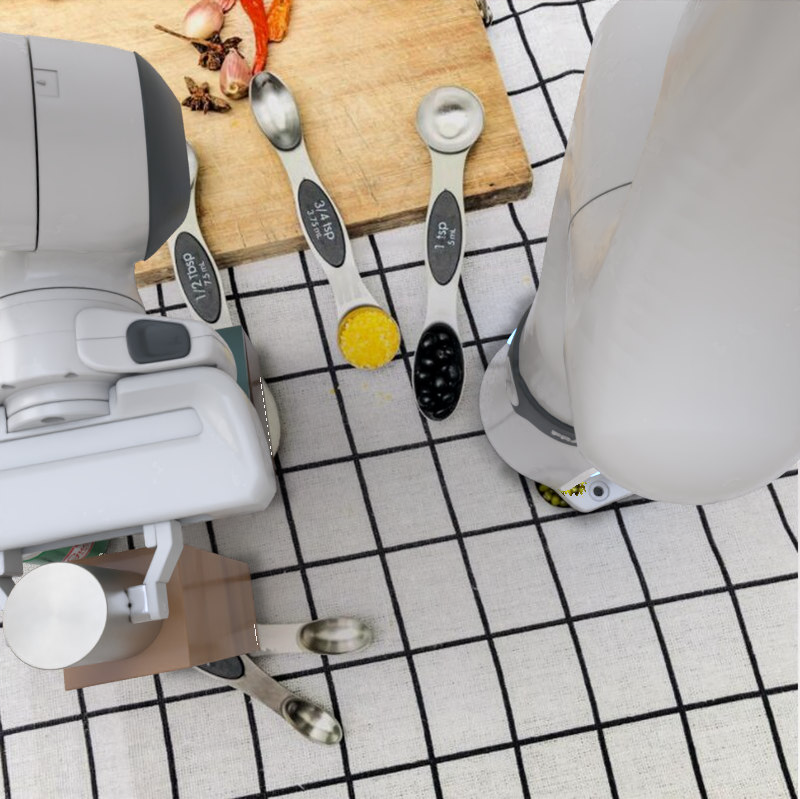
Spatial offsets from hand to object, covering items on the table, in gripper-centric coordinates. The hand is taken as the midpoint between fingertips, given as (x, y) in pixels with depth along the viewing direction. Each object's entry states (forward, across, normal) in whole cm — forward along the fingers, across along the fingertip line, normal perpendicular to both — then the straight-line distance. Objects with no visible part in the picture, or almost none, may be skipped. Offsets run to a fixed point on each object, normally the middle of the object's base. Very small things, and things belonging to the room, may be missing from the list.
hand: (90, 632), depth 41 cm
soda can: (-9, -10, +27) cm, 30 cm away
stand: (-1, 0, +27) cm, 27 cm away
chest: (-16, +1, +27) cm, 31 cm away
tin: (-1, 0, +5) cm, 5 cm away
